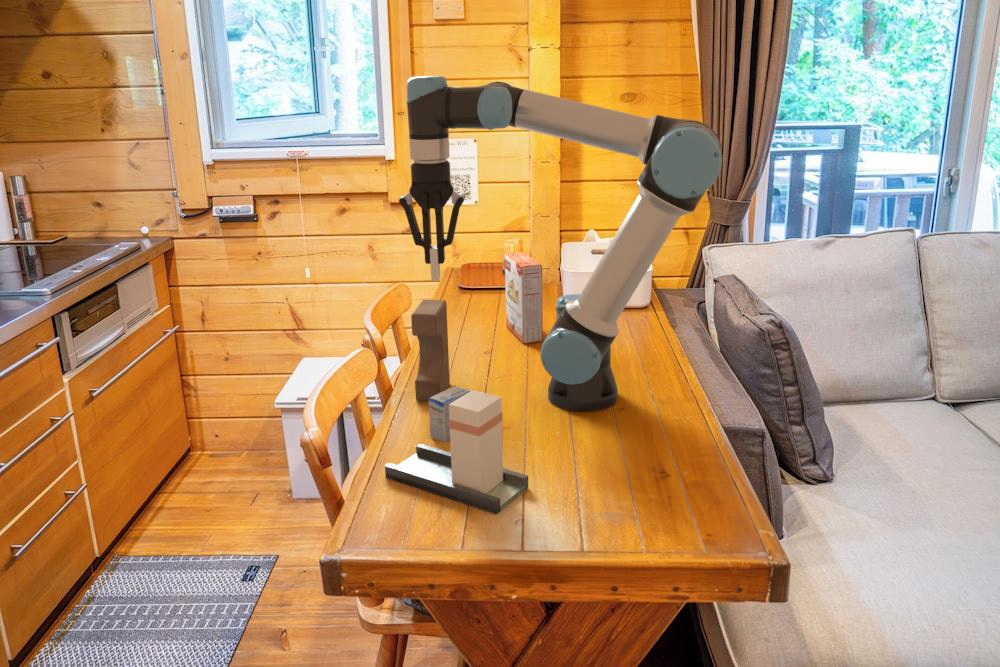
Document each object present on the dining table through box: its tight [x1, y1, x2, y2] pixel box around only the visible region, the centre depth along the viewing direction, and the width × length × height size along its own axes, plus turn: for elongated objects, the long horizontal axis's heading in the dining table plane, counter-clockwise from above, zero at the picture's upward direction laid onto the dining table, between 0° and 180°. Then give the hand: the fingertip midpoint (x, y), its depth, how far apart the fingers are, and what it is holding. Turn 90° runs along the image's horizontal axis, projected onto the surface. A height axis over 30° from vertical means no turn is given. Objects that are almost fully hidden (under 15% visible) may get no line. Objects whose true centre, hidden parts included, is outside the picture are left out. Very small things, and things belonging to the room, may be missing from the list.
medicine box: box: [428, 385, 471, 443], centre depth 170 cm, size 8×4×9 cm, turn 141°
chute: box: [384, 443, 529, 515], centre depth 152 cm, size 24×10×2 cm, turn 57°
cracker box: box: [504, 251, 544, 345], centre depth 223 cm, size 14×6×21 cm, turn 17°
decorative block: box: [410, 299, 451, 402], centre depth 188 cm, size 11×6×20 cm, turn 171°
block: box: [449, 389, 504, 494], centre depth 147 cm, size 6×7×16 cm
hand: (435, 279), depth 171 cm, fingers closed
